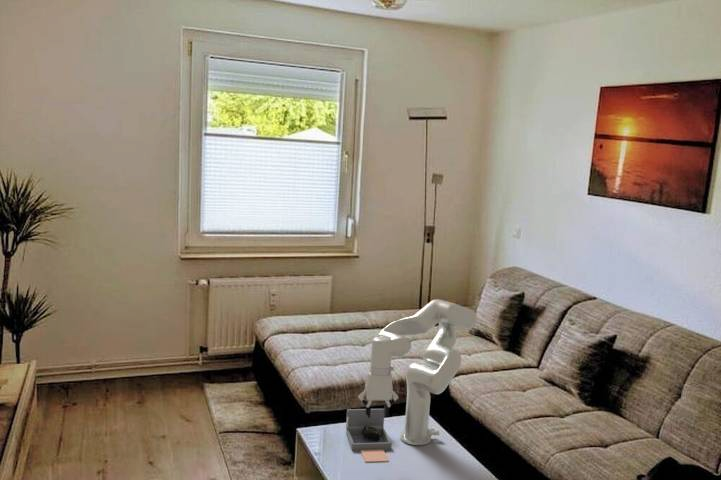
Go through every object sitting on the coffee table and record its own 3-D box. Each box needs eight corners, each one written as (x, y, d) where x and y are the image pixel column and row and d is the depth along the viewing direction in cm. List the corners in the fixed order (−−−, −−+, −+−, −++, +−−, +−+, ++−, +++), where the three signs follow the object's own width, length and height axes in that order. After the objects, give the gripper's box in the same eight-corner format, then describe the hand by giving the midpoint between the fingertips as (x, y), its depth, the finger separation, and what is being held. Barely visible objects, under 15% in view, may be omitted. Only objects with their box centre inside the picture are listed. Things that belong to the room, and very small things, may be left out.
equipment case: (382, 432, 253) (384, 408, 252) (391, 449, 239) (392, 423, 238) (345, 433, 250) (347, 409, 249) (352, 450, 236) (353, 424, 235)
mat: (383, 450, 238) (383, 449, 238) (388, 461, 229) (388, 460, 229) (360, 451, 236) (360, 450, 236) (365, 462, 227) (365, 461, 227)
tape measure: (362, 439, 242) (365, 431, 242) (359, 432, 249) (362, 423, 249) (378, 444, 244) (381, 435, 243) (375, 436, 250) (378, 427, 250)
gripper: (400, 366, 233) (396, 411, 236) (355, 366, 230) (352, 412, 232) (405, 373, 226) (401, 420, 228) (359, 373, 223) (356, 420, 225)
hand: (376, 415), depth 230 cm, fingers open, 6 cm apart
